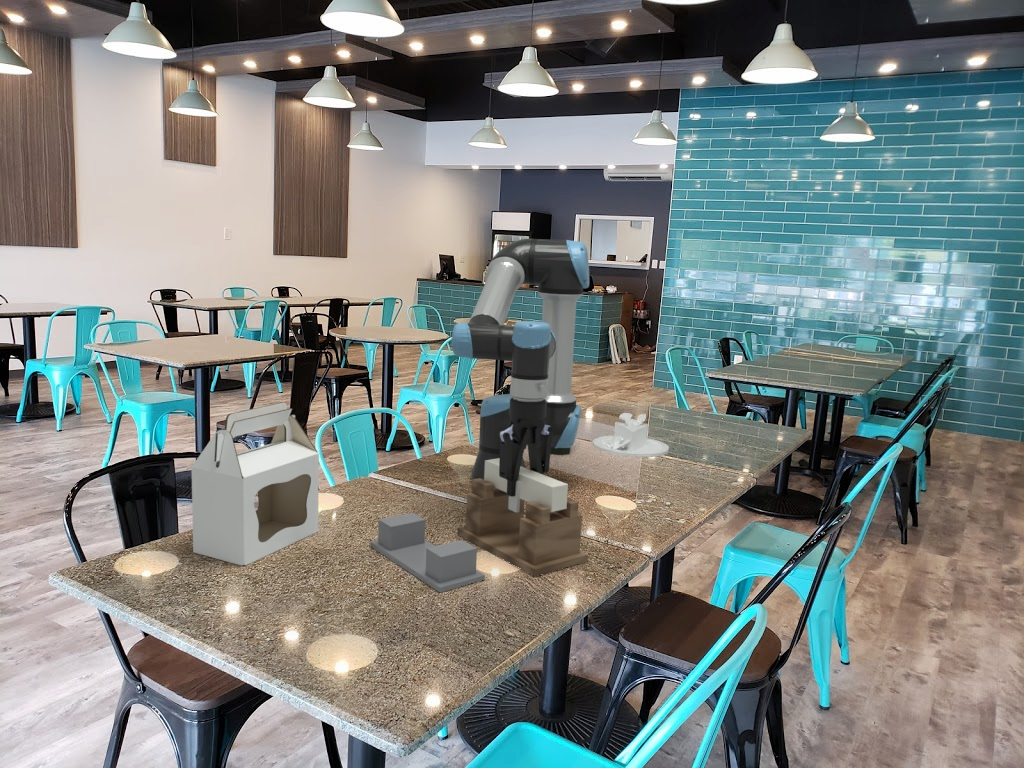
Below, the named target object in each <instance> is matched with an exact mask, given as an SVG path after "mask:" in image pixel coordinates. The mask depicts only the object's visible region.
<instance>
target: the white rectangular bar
mask: <svg viewBox="0 0 1024 768" xmlns="http://www.w3.org/2000/svg"><path fill="white" fill-rule="evenodd" d="M512 475H513V474H512ZM484 480H485V481H488V482H490V483H492V484H494V489H495V488H497V489H499V490H502V491H504V492H506V493H507V479H504V478H502V477H500V476H499V458H497V459H491V460H485V471H484ZM518 481H521V487H520V499H522V500H525V501H524V502H526V501H527V502H532V501H534V502H537V503H539V504H541V505H544V506H546V507H548V508H550V512H554V511H559V510H563V509H567V498H568V490H569V483H566V482H563V481H561V480H558V479H555V478H553V477H550V476H548V475H546V474H545V475H542V474H540V473H537V472H535V471H532V470H530V468H526V467H525V468H524V467H522V466H520V471H519V476H518Z"/></svg>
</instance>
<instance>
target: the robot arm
mask: <svg viewBox="0 0 1024 768" xmlns="http://www.w3.org/2000/svg"><path fill="white" fill-rule="evenodd" d="M588 253H589V252H588V248H587V245H586V244H585V243H584V242H582V241H578V240H577V241H576V240H569V239H542V238H541V239H539V238H522V239H519V240H515V241H513V242H511V243H510V244H507V245H506V246H504V247H503V248H501V249H500V250H499V251H498V252H497V253H495V254H494V256H493V257H492V258H491V260H490V262H489V264H488V266H487V269H486V278H487V280H486V281H485V283H484V286H483V288H482V291H481V293H480V295H479V298H478V300H477V303H476V304H475V307H474V309H473V312H472V314H471V316H470V319H469V322H466V321H465V322H458V323H455V325H454V326H453V329H452V334H451V349H452V353H453V354H454V355H455V356H456V357H460V358H469V359H470V360H472V359H474V360H475V359H479V360H492V361H493V360H494V361H506V362H511V374H510V387H509V393H507V394H506V393H505V394H503V393H502V394H498V395H491V396H489V397H486V398H484V399H483V400H482V402H481V406H480V413H479V436H478V438H479V441H478V442H479V443H478V452H477V455H476V458H475V461H474V464H473V467H472V469H471V474H470V475H471V477H470V478H471V479H470V480H472V479H478V478H481V479H483V480H484V471H485V460H491V459H497V458H499V476H500V477H502V478H504V479H507V495H509V503H508V509H509V510H512V511H514V512H516V513H517V512H519V507H520V487H521V481H518V476H519V471H520V466H522V467H524V468H526V465H525V461H524V457H523V456H524V451H525V450H526V449H527V452H528V462H529V470H532V471H535V472H537V473H540V474H542V475H545V476H546V474H548V473H549V471H550V460H551V454H550V452H551V447H555V448H570V447H571V448H572V447H573V446H574V444H575V441H576V438H577V432H578V429H579V424H580V420H581V419H580V418H581V414H582V406H581V405H579V404H577V396H575V395H574V394H573V393H572V384H573V383H572V382H573V366H574V364H573V361H574V349H575V348H574V347H575V346H574V345H575V331H576V330H575V329H576V315H577V314H576V312H577V301H578V300H579V299H580V298H581V297H582V296H583V295H584V289H588V288H589V287H590V264H589V256H588V255H589V254H588ZM523 285H529V286H531V285H532V286H537V293H538V295H539V296H540V297H541V299H542V315H541V316H542V317H541V321H538V320H537V321H536V320H521V321H520V320H519V321H517V322H516V323H514V325H505V322H506V319H507V317H508V313H509V311H510V308H511V306H512V304H513V300H514V297H515V294H516V292H517V290H519V288H521V287H522V286H523ZM571 448H570V449H571ZM512 474H513V475H512ZM526 503H527V501H525V504H526Z"/></svg>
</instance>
